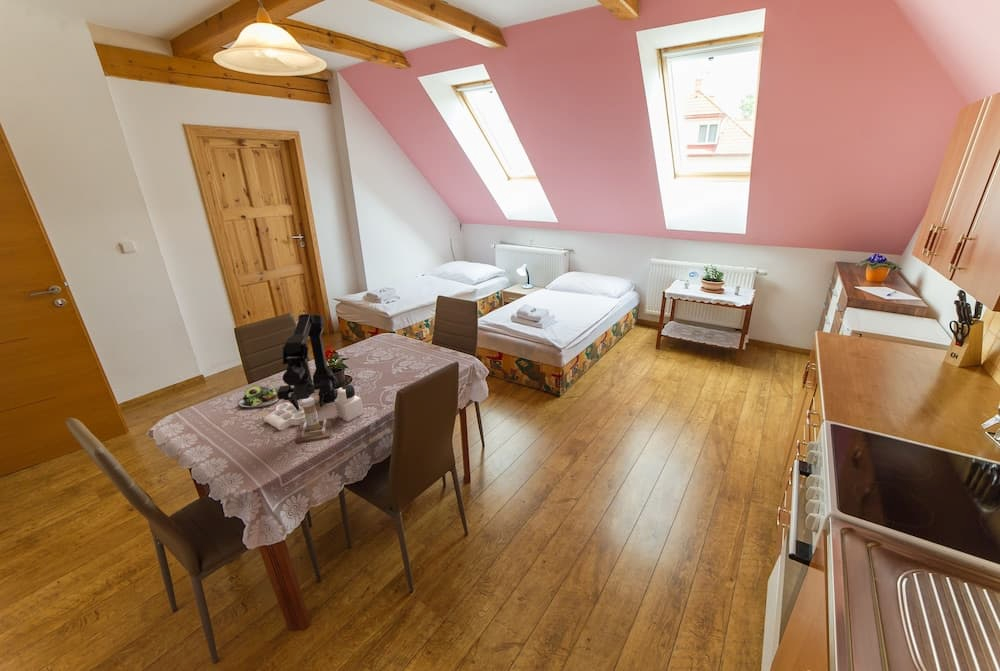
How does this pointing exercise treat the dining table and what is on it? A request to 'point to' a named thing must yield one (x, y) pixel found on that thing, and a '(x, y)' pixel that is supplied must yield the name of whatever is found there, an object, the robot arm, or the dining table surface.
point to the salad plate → (258, 397)
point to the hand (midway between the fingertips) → (309, 408)
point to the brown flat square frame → (315, 435)
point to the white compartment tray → (286, 416)
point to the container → (348, 403)
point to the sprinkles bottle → (310, 414)
